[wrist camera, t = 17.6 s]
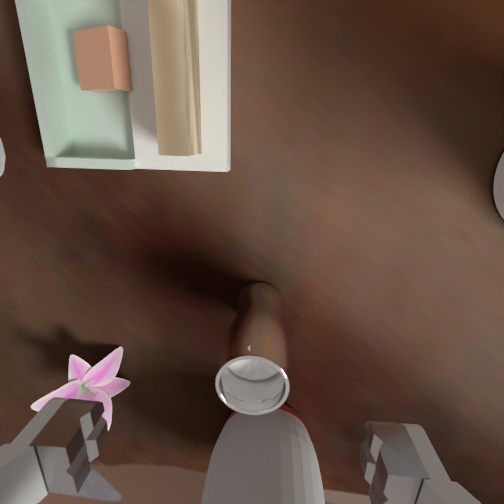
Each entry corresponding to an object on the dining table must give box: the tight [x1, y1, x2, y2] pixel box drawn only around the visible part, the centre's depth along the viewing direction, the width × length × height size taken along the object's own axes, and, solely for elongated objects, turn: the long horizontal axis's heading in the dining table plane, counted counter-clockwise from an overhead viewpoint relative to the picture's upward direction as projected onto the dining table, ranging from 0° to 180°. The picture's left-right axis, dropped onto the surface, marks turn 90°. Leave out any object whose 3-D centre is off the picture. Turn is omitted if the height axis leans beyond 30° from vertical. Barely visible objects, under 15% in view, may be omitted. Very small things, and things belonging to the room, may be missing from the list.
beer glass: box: [215, 282, 290, 415], centre depth 34 cm, size 7×7×15 cm
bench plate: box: [120, 0, 231, 172], centre depth 31 cm, size 10×20×2 cm, turn 178°
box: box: [15, 0, 136, 170], centre depth 31 cm, size 9×20×4 cm, turn 178°
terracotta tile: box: [73, 25, 132, 93], centre depth 30 cm, size 5×5×2 cm
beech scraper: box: [147, 0, 202, 156], centre depth 27 cm, size 2×16×6 cm, turn 178°
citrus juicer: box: [201, 404, 325, 504], centre depth 39 cm, size 16×17×20 cm
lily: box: [31, 346, 131, 430], centre depth 43 cm, size 12×12×10 cm
